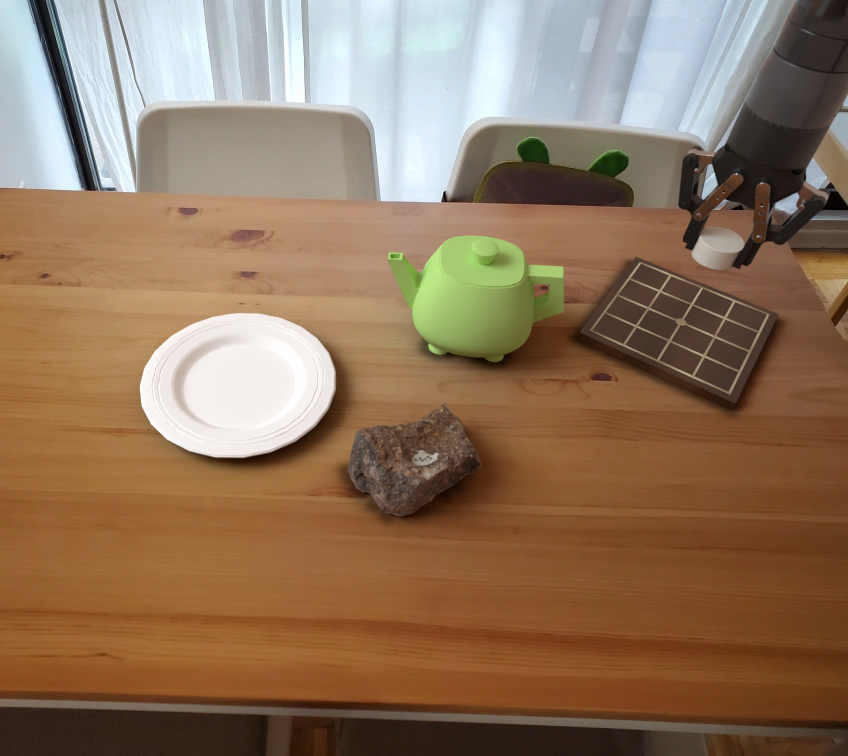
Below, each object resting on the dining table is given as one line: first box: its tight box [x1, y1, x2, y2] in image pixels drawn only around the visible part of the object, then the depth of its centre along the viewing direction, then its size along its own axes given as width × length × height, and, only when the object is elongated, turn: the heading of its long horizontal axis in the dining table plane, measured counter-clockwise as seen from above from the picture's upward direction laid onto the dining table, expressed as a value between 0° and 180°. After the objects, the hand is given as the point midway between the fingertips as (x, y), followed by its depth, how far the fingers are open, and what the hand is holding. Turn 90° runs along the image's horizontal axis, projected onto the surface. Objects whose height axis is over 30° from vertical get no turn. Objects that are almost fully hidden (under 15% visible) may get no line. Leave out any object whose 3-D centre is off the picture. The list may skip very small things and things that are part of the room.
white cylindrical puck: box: [690, 226, 746, 271], centre depth 77 cm, size 5×5×2 cm
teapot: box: [387, 235, 565, 363], centre depth 81 cm, size 20×13×13 cm
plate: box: [139, 312, 337, 459], centre depth 77 cm, size 21×21×2 cm
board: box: [576, 256, 779, 411], centre depth 86 cm, size 18×18×1 cm
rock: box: [347, 402, 482, 517], centre depth 69 cm, size 13×8×6 cm, turn 120°
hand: (714, 254), depth 78 cm, fingers closed on white cylindrical puck, 4 cm apart
